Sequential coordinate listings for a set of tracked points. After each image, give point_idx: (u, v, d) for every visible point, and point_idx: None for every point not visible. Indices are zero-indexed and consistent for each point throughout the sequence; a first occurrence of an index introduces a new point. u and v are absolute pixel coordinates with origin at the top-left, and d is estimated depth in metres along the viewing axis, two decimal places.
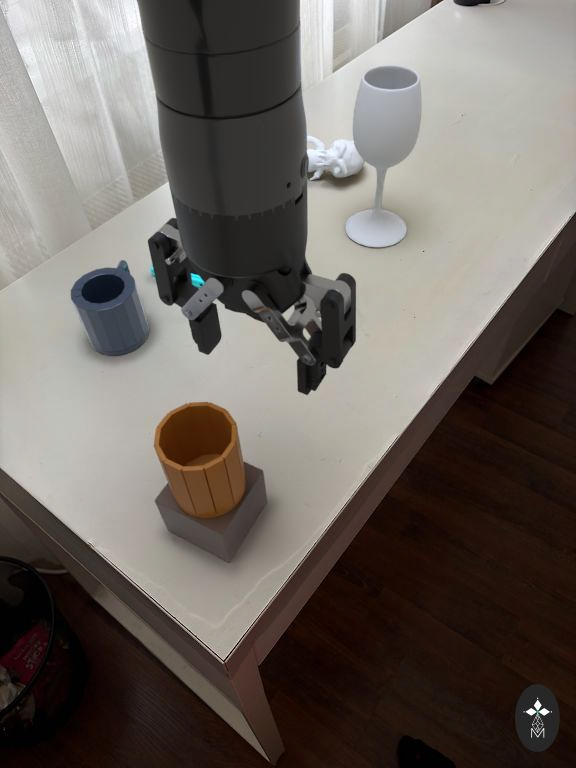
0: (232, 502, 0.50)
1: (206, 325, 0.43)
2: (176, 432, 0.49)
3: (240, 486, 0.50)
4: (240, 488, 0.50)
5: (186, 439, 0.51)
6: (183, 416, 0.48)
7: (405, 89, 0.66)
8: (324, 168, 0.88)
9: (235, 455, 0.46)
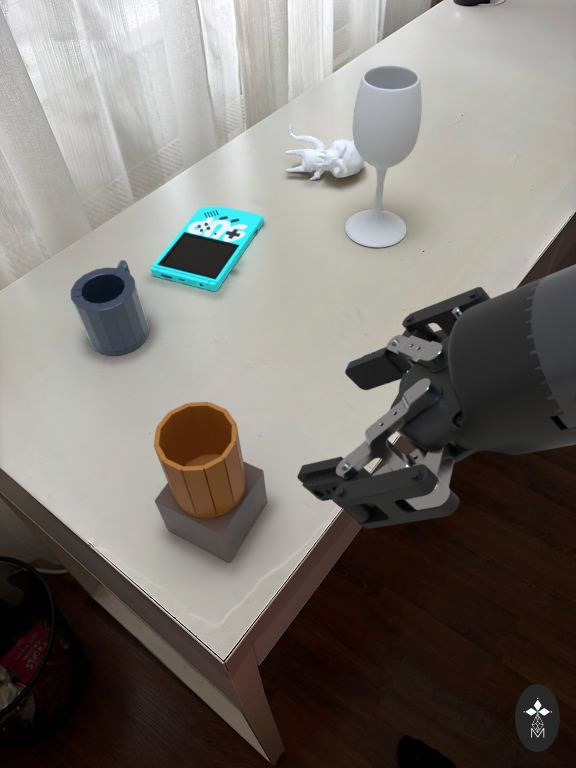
0: (232, 502, 0.50)
1: (379, 365, 0.38)
2: (176, 432, 0.49)
3: (240, 486, 0.50)
4: (240, 488, 0.50)
5: (186, 439, 0.51)
6: (183, 416, 0.48)
7: (405, 89, 0.66)
8: (324, 168, 0.88)
9: (235, 455, 0.46)
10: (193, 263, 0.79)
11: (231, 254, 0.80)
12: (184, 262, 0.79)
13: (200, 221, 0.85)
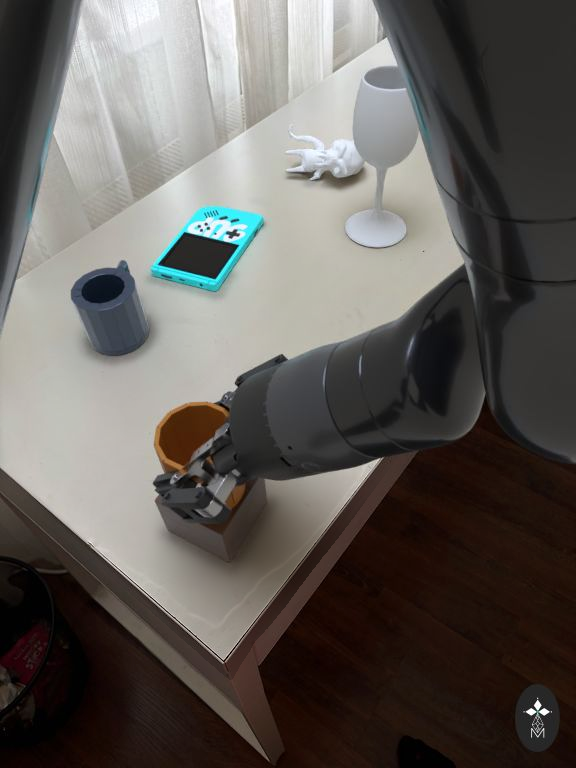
0: (232, 502, 0.50)
1: None
2: (176, 432, 0.49)
3: (240, 486, 0.50)
4: (240, 488, 0.50)
5: (186, 438, 0.51)
6: (183, 416, 0.48)
7: (405, 89, 0.66)
8: (324, 168, 0.88)
9: None
10: (193, 263, 0.79)
11: (231, 254, 0.80)
12: (184, 262, 0.79)
13: (200, 221, 0.85)
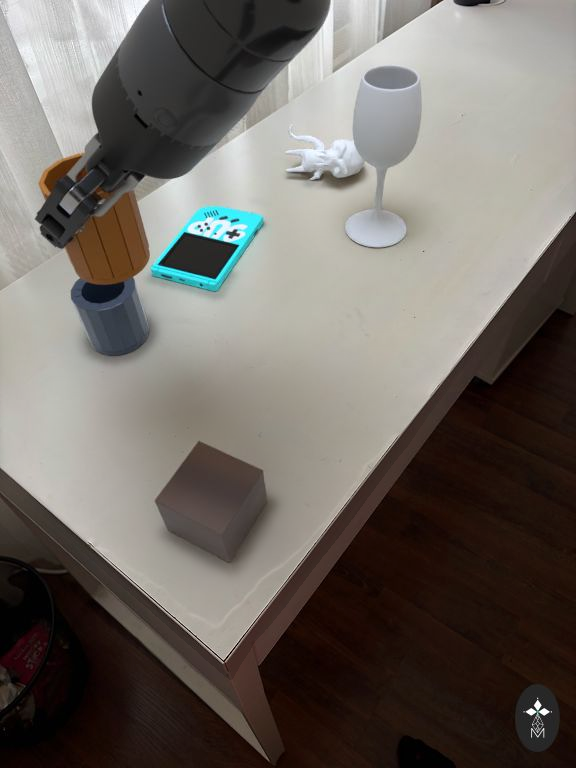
0: (130, 266, 0.48)
1: None
2: None
3: (139, 250, 0.48)
4: (139, 253, 0.48)
5: None
6: None
7: (405, 89, 0.66)
8: (324, 168, 0.88)
9: (125, 198, 0.44)
10: (193, 263, 0.79)
11: (231, 254, 0.80)
12: (184, 262, 0.79)
13: (200, 221, 0.85)
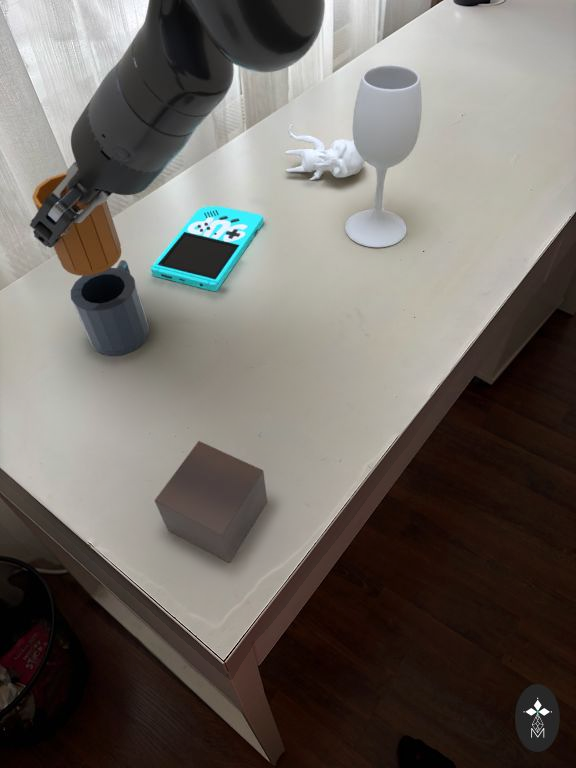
0: (105, 261, 0.61)
1: None
2: None
3: (112, 248, 0.61)
4: (112, 250, 0.61)
5: None
6: None
7: (405, 89, 0.66)
8: (324, 168, 0.88)
9: (99, 208, 0.57)
10: (193, 263, 0.79)
11: (231, 254, 0.80)
12: (184, 262, 0.79)
13: (200, 221, 0.85)
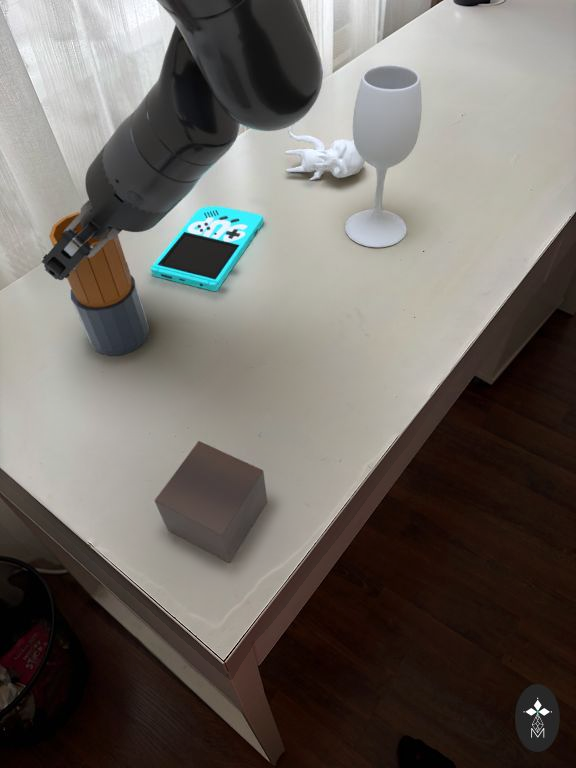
0: (117, 294, 0.64)
1: None
2: None
3: (123, 282, 0.64)
4: (123, 284, 0.65)
5: None
6: None
7: (405, 89, 0.66)
8: (324, 168, 0.88)
9: (112, 246, 0.61)
10: (193, 263, 0.79)
11: (231, 254, 0.80)
12: (184, 262, 0.79)
13: (200, 221, 0.85)
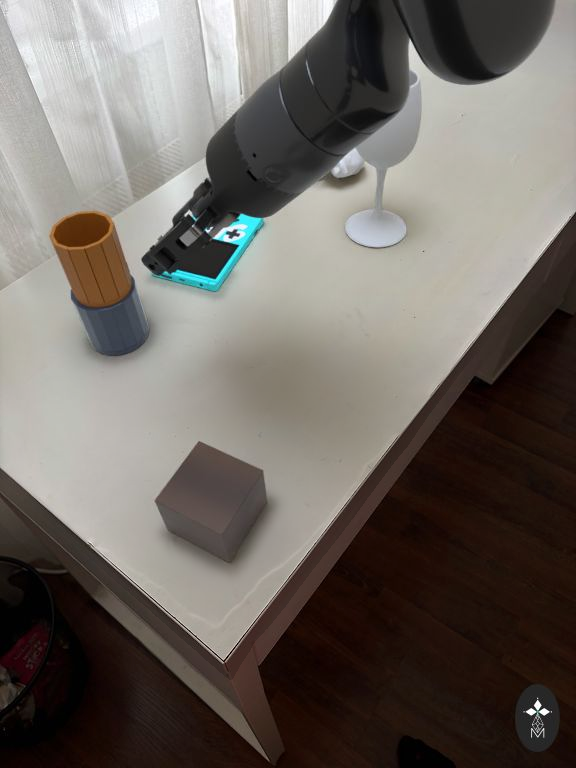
0: (117, 294, 0.64)
1: None
2: (72, 237, 0.64)
3: (123, 282, 0.64)
4: (123, 284, 0.65)
5: None
6: (76, 222, 0.63)
7: None
8: None
9: (112, 246, 0.61)
10: (193, 263, 0.79)
11: (231, 254, 0.80)
12: None
13: None
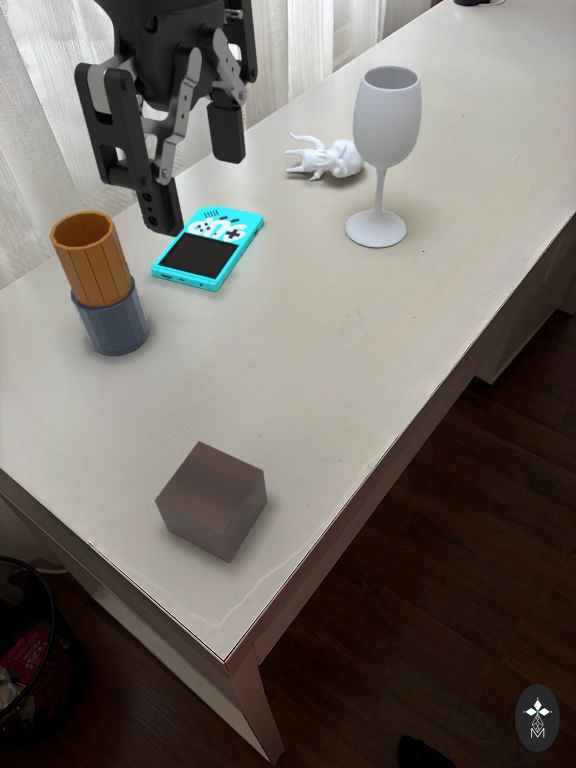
0: (117, 294, 0.64)
1: (217, 120, 0.38)
2: (72, 237, 0.64)
3: (123, 282, 0.64)
4: (123, 284, 0.65)
5: None
6: (76, 222, 0.63)
7: (405, 89, 0.66)
8: (324, 168, 0.88)
9: (112, 246, 0.61)
10: (193, 263, 0.79)
11: (231, 254, 0.80)
12: (184, 262, 0.79)
13: (200, 221, 0.85)
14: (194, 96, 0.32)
